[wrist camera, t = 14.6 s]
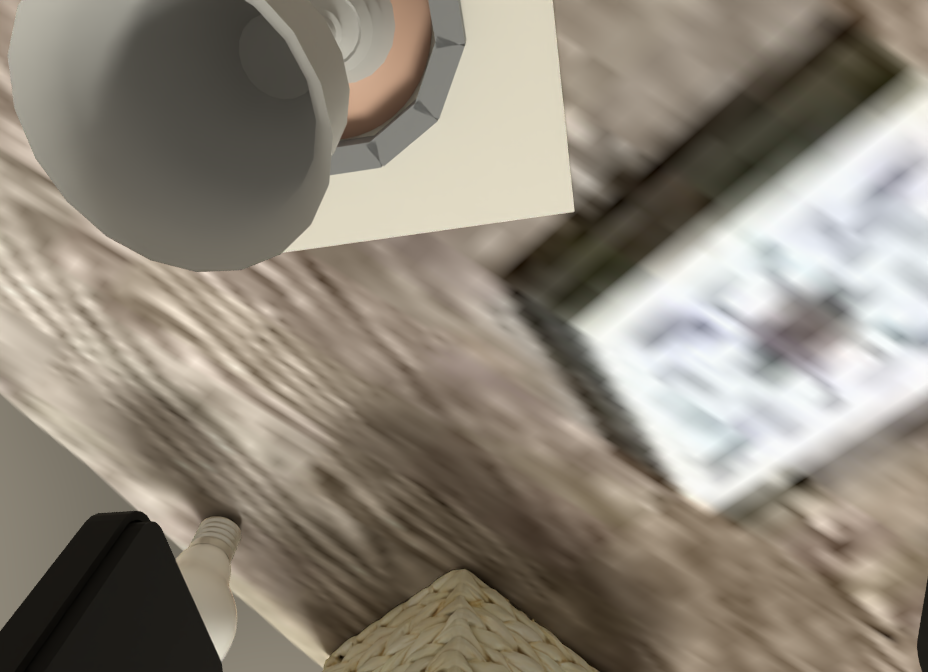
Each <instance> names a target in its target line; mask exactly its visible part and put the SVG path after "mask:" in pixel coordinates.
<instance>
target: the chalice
mask: <svg viewBox="0 0 928 672" xmlns="http://www.w3.org/2000/svg"><path fill="white" fill-rule="evenodd" d="M394 32H395V20H394V13H393V6H392V4H391V2H390V0H21V2H20V3H19V5H18V8H17V12H16V17H15V22H14V27H13V32H12V37H11V42H10V47H9V51H8V62H9V70H10V77H11V85H12V93H13V100H14V108H15V111H16V113H17V115H18V118H19V120H20V123H21V125H22V127H23V130H24V132H25V134H26V137H27V139H28V141H29V144H30V146H31V149H32V151H33V153H34V156H35V158H36V160H37V161H38V162H39V164H40V165H41V166H42V168H43V169H44V170H45V172H46V173H47V175H48V176H49V177H50V179H51V180H52V181H53V183H54V184H55V186H56V187H57V188H58V190H59V191H60V192H61V194H62V195H63V196H64V198H65V199H66V201H67V202H68V203H69V204H70V205H72V206H73V207H74V208H75V209H76V210H77V211H78V212H80V213H81V214H82V215H83V216H84V217H85V218H86V219H88V220H89V221H90V222H91V223H92V224H93V225H94V226H96V227H97V228H98V229H99V230H100V231H101V232H102V233H103V234H105V235H106V236H107V237H109V238H111V239H113V240H114V241H116V242H118V243H120V244H122V245H124V246H125V247H127V248H129V249H131V250H133V251H135V252H137V253H138V254H140V255H142V256H144V257H146V258H148V259H149V260H152V261H156V262H160V263H164V264H167V265H171V266H175V267H179V268H183V269H187V270H191V271H195V272H207V271H231V270H243V269H245V268H248V267H250V266H253V265H255V264H258V263H260V262H263V261H265V260H268V259H270V258H272V257H275V256H277V255H280V254H281V253H282V252H283V251H285V250H286V249H287V248H288V247H289V246H290V245H291V244H292V243H293V242H294V241H295V240H296V239H297V238H298V237H299V236H300V235H301V234H302V233H303V232H304V231H305V230H306V229H307V228H308V227H309V226H310V225H311V224H312V222H313V219H314V217H315V215H316V213H317V211H318V208H319V206H320V204H321V202H322V199H323V197H324V195H325V193H326V190H327V188H328V186H329V181H330V167H331V156H332V155H333V154H334V152H335V150H336V147H337V145H338V143H339V141H340V138H341V136H342V134H343V131H344V129H345V127H346V125H347V116H348V105H349V93H350V88H349V83H354V82H357V81H360V80H362V79H364V78H366V77H368V76H370V75H372V74H373V73H374V72H375V71H376V70H377V69H378V68H379V67H380V66H381V65H382V64H383V63H384V62H385V60H386V58H387V55H388V53H389V51H390V49H391V47H392V45H393V38H394Z"/></svg>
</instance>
